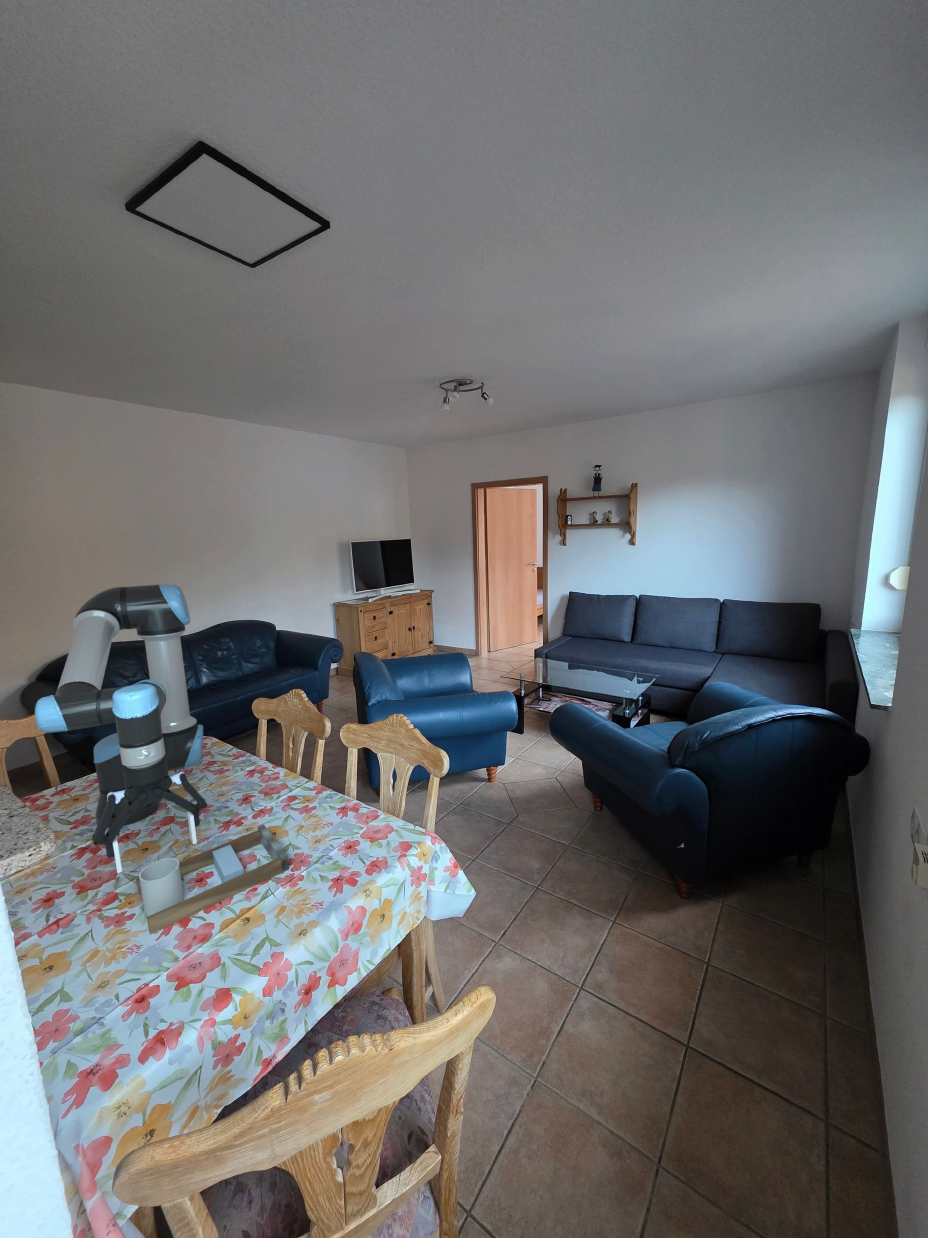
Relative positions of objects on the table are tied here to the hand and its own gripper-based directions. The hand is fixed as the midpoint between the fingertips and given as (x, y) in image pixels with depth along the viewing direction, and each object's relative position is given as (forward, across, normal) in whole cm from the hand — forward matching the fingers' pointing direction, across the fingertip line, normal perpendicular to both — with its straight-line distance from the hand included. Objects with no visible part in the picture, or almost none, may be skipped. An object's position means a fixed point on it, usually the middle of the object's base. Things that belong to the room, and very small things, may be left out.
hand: (157, 854), depth 103 cm
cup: (+12, 0, 0) cm, 12 cm away
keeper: (+12, +13, 0) cm, 18 cm away
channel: (+12, +10, 0) cm, 15 cm away
